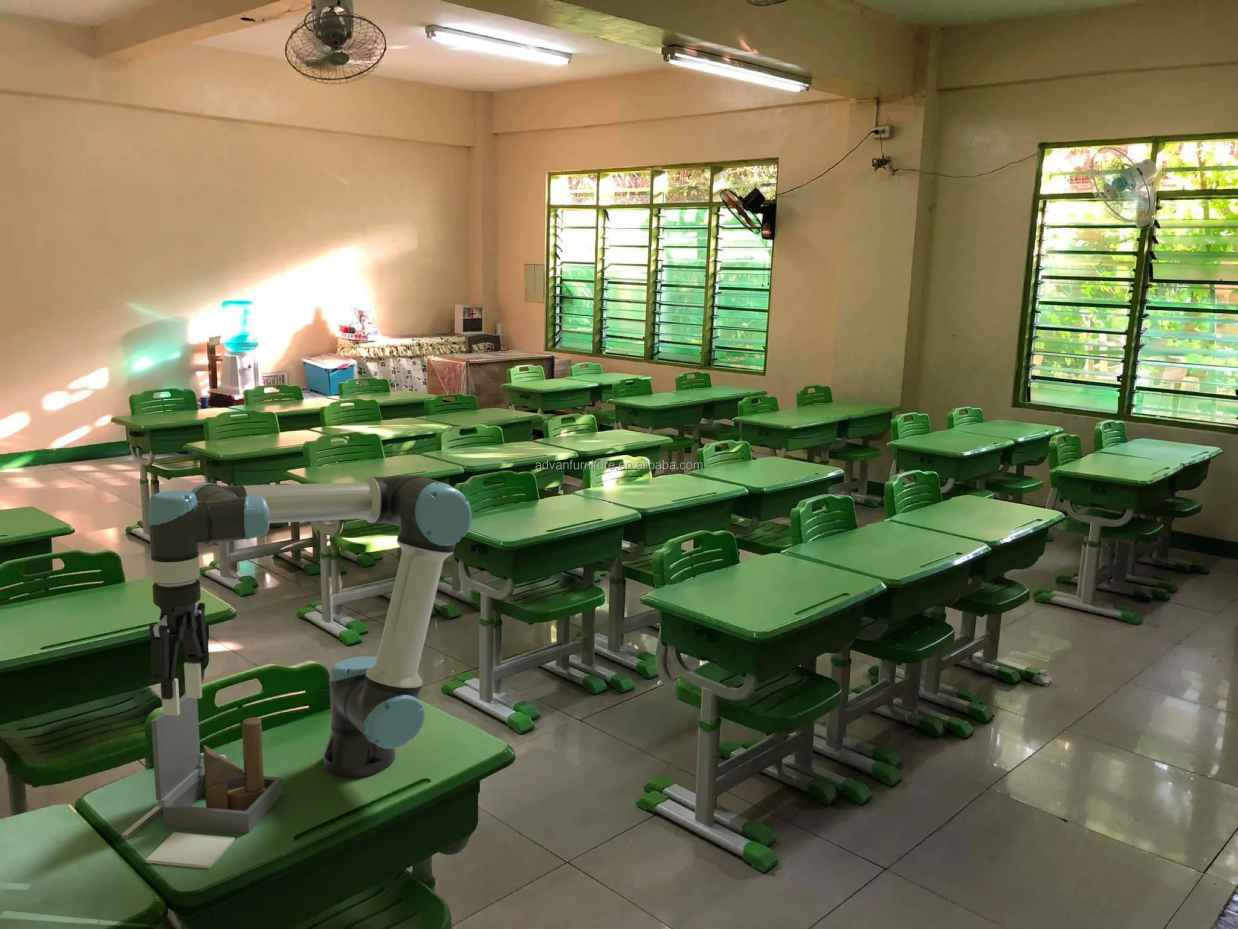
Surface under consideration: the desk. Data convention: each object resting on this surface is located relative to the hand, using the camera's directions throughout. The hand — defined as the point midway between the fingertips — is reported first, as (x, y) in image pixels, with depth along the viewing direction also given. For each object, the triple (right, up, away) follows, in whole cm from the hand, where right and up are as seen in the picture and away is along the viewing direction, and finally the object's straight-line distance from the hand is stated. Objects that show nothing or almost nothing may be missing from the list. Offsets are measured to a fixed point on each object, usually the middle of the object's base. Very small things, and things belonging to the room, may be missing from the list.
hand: (182, 705), depth 168 cm
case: (0, -26, +19) cm, 32 cm away
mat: (-1, -28, +5) cm, 28 cm away
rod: (-14, -26, +14) cm, 33 cm away
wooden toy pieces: (+2, -26, +19) cm, 32 cm away
